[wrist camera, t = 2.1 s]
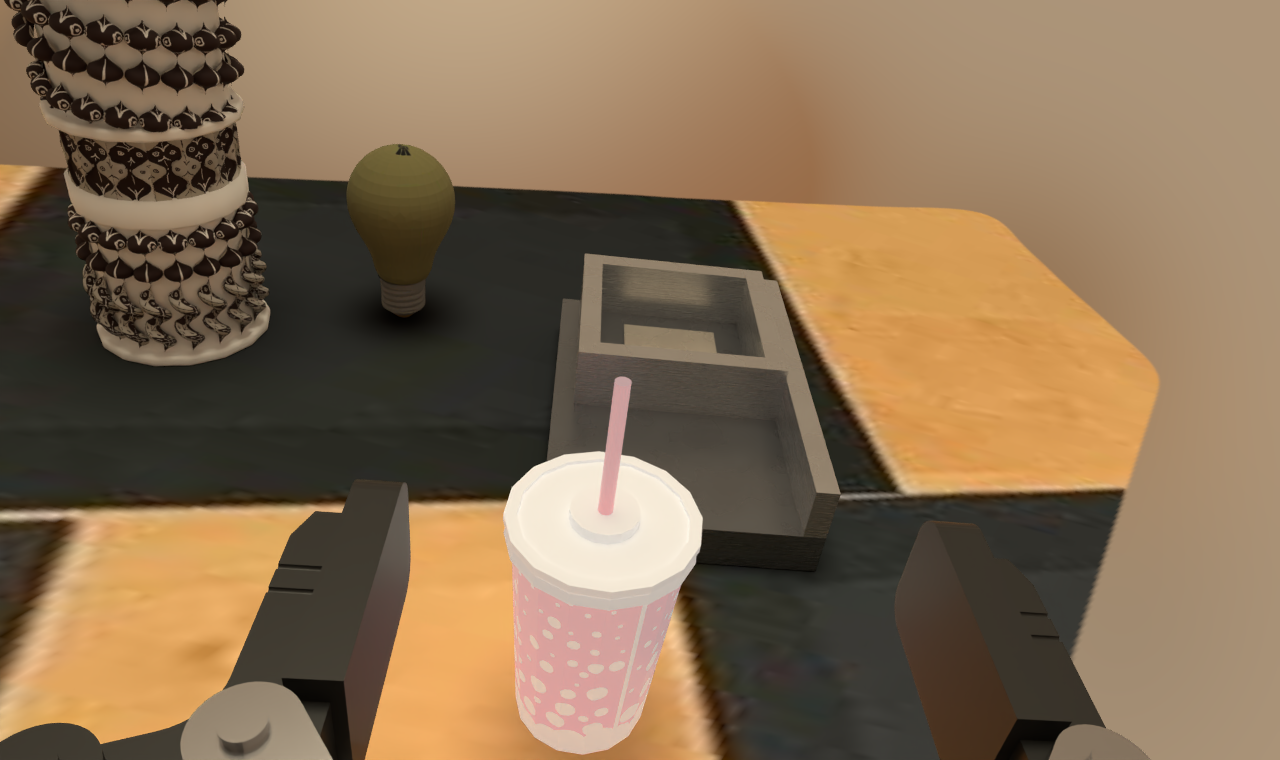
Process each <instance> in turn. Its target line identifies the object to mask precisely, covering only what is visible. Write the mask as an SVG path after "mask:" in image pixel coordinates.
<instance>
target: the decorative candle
mask: <svg viewBox="0 0 1280 760" xmlns="http://www.w3.org/2000/svg"><path fill="white" fill-rule="evenodd" d="M4 1H5V3H6V4H7V5H8V6H9V7H10V8H11V9H13V10H15V11H18V13H17V14H15V15H14V16H13V18H12V26H13V27H14V29H15V30H14V33H13V35H14V38H15V40H16V41H17V42H18V43H19V44H20V45H22V46H25V47H27V50H28V52H29V53H30V54H31V55H32V56H33V57H35V58H36V61H33V62H31V63H30V64H29V65H28V67H27V69H26V72H27V75H28V77H29V78H31V79H32V80H31V88H32V89H33V91H34V92H35V93H36V94H38V95H40V96H41V97H40V100H41V101H40V104H39V105H40V109H41V112H42V115H43V117H44V119H45V121H46V123H47V124H48V125H50V126H52V127H54V128H56V129H58V130H59V133H60V143H61V147H62V149H63V152H64V155H65V158H66V161H67V165H68V168H67V169H66V171H65V172H64V176H65V180H66V184H67V188H68V192H69V196H70V200H71V202H72V204H71V205H70V206H69V207H68V215H69V218H68V225H69V227H70V228H71V229H72V230H74V231H76V232H78V235H77V236H76V239H75V242H76V244H77V248H76V254H77V256H78V257H79V258H80V259H82V260H85V261H86V264H85V266H84V269H83V286H84V289H85V291H86V292H87V294H88V295H89V296H91V297H90V304H91V307H90V312H91V315H92V317H93V319H94V320H95V321H96V322H97V323H98V324H97V327H96V328H97V331H98V334H99V337H100V339H101V341H102V344H103V346H104V348H105V349H107V350H109V351H110V352H112V353H114V354H115V355H117V356H119V357H120V358H122V359H123V360H127V361H132V362H137V363H141V364H146V365H151V366H188V365H195V364H200V363H204V362H208V361H213V360H217V359H222V358H226V357H228V356H230V355H232V354H234V353H236V352H238V351H240V350H242V349H245V348H247V347H249V346H251V345H252V344H253V343H254V342H255V341H256V340H257V339H258V338H259V337H260V336H261V335H262V334H263V333H264V332H265V331H266V330H267V329H268V324H269V319H270V308H269V307H268V305H267V304H266V302H265V301H264V300H263V299H264V298H265V297H266V296H268V295H269V290H268V289H267V288H266V287H264V286H262V285H261V284H262V283H263V282H264V277H263V276H262V275H260V274H262V273H263V272H264V271H265V270H266V264H265V263H264V262H262V261H260V260H259V259H260V258H261V252H260V251H259V250H258V249H257V248H258V246H257V244H256V243H257V242H259V241H260V239H261V232H260V230H258V229H257V224H256V222H255V220H254V215H256V213H257V212H258V205H257V203H256V202H255V201H254V197H253V195H252V193H251V192H250V191H249V187H248V179H247V172H246V165H245V164H244V163H243V161H242V160H241V157H240V152H239V141H238V132H237V127H236V123H235V122H236V121H238V120H240V118H241V115H242V112H243V110H244V102H243V100H242V98H241V97H240V96H239V95H238V94H237V93H236V92H235V90H234V89H233V88H231V87H228V84H229V83H232V82H234V81H235V80H237V79H238V77H240V76H242V75H243V73H244V67H243V65H242V64H241V63H239V62H238V60H237V59H235V58H234V57H232V56H230V55H229V54H227V53H226V52H225V50H226V49H228V48H230V47H232V46H234V45H235V44H236V42H237V41H239V40H240V38H241V31H240V30H239V29H238V28H237V27H236V26H234V25H232V24H230V23H229V22H227V21H226V19H225V17H224V20H222V19H221V18H220V17H219V13H218V5H219V4H220V3H221V2H224V3H225V2H226V1H227V0H4ZM34 24H35V28H36V32H37V36H38V38H33V37H34ZM32 35H33V36H32ZM48 80H49V81H48Z"/></svg>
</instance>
